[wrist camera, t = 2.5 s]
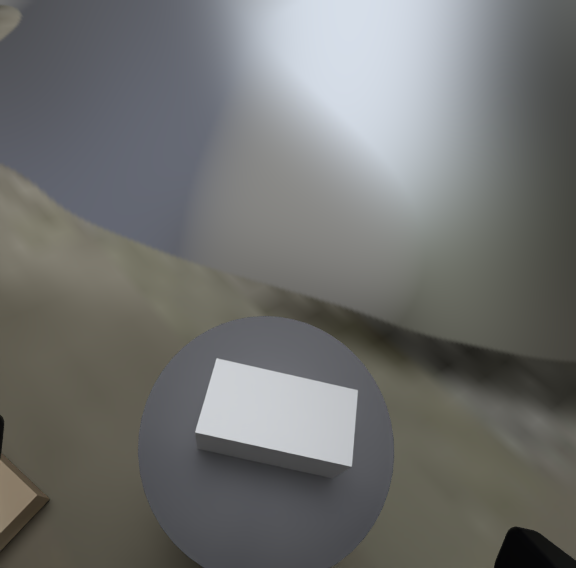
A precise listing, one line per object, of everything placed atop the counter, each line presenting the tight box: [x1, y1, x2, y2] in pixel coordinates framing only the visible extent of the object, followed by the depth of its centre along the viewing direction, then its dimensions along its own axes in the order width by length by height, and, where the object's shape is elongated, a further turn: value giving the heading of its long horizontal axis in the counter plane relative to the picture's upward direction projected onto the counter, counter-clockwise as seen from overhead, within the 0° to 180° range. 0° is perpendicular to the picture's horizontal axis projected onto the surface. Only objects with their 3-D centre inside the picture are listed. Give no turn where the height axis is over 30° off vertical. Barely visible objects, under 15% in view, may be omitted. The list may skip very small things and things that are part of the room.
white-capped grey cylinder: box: [138, 316, 394, 568], centre depth 11 cm, size 5×5×10 cm
